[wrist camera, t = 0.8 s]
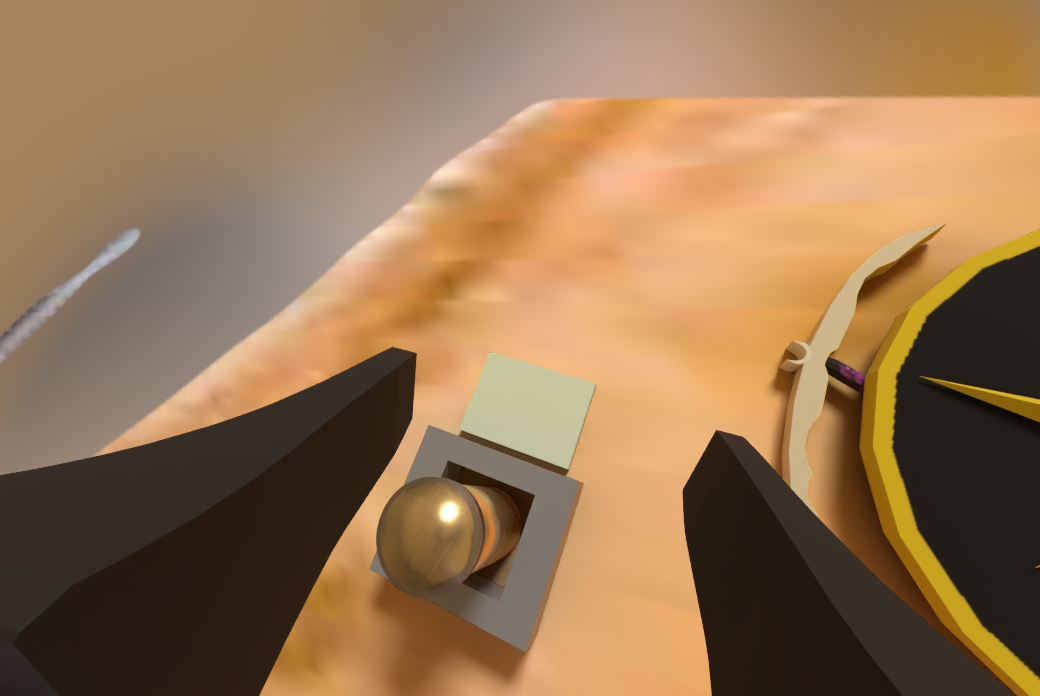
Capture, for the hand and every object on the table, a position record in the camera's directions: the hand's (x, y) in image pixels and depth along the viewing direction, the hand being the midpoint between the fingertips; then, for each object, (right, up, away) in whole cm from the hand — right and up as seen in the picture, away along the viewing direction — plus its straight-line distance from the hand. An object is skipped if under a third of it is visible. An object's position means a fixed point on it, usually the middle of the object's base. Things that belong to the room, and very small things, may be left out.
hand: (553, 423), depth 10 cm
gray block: (-3, -8, +14) cm, 17 cm away
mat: (0, -2, +16) cm, 16 cm away
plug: (-3, -8, +14) cm, 17 cm away
